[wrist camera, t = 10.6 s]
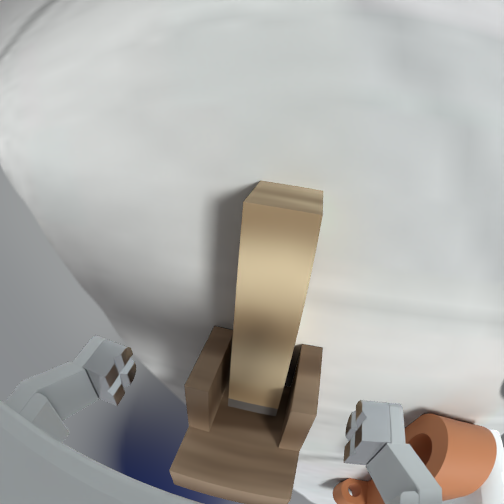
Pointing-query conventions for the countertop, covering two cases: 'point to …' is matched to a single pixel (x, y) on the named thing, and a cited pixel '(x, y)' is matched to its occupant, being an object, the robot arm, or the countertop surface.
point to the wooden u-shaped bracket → (244, 430)
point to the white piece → (488, 482)
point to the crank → (437, 459)
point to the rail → (271, 290)
